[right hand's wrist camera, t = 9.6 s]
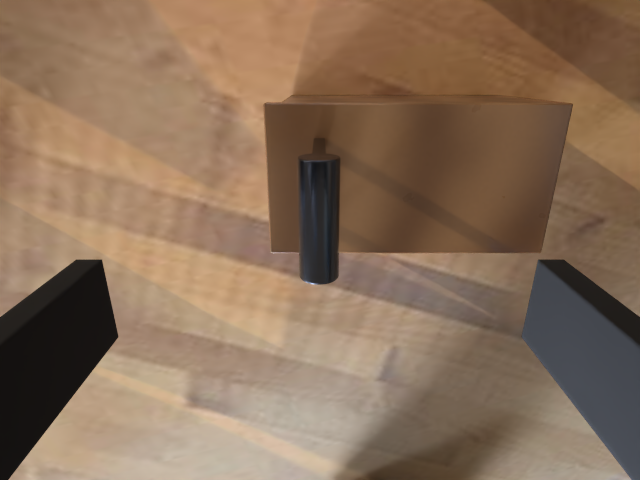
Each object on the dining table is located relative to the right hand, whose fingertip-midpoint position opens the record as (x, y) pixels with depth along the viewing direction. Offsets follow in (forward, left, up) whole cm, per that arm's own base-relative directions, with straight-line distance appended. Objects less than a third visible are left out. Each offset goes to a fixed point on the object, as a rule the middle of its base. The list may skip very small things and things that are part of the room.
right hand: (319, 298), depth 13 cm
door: (+3, -5, -16) cm, 17 cm away
